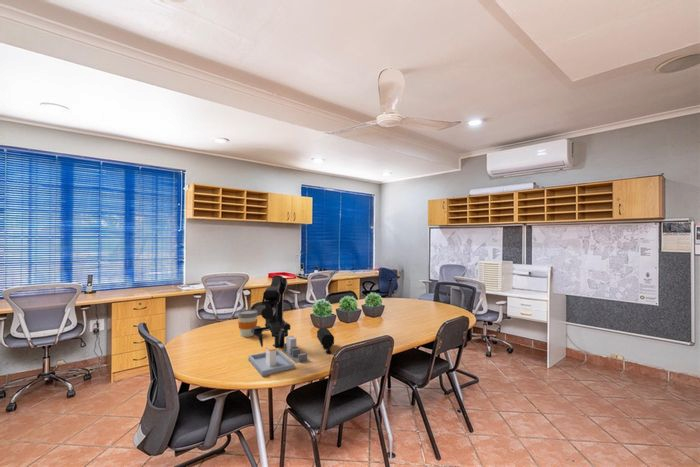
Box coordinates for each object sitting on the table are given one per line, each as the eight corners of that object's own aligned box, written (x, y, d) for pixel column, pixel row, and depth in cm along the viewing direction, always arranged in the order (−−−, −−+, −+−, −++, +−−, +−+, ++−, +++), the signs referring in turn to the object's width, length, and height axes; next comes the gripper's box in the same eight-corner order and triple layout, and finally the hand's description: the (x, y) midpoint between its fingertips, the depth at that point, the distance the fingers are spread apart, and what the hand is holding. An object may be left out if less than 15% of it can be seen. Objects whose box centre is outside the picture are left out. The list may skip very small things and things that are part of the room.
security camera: (322, 355, 176) (323, 337, 176) (316, 344, 194) (316, 327, 194) (335, 354, 178) (335, 336, 178) (328, 343, 196) (328, 326, 196)
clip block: (281, 351, 182) (281, 344, 182) (294, 348, 186) (294, 341, 186) (295, 364, 164) (295, 356, 164) (310, 361, 168) (310, 353, 168)
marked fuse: (265, 362, 165) (265, 346, 165) (272, 360, 167) (272, 345, 167) (269, 366, 160) (269, 349, 160) (276, 364, 162) (276, 348, 162)
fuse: (286, 350, 181) (286, 336, 181) (291, 349, 183) (292, 335, 183) (290, 354, 176) (290, 339, 176) (296, 353, 178) (296, 338, 178)
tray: (248, 360, 169) (248, 355, 169) (278, 354, 177) (278, 349, 177) (262, 376, 149) (262, 371, 149) (294, 369, 158) (294, 364, 158)
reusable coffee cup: (260, 332, 217) (260, 309, 217) (253, 338, 204) (253, 314, 204) (242, 331, 218) (242, 309, 218) (234, 337, 206) (234, 313, 206)
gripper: (257, 320, 151) (257, 353, 151) (294, 315, 161) (294, 346, 161) (251, 315, 161) (250, 346, 161) (286, 311, 171) (286, 340, 171)
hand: (270, 345), depth 163 cm, fingers open, 9 cm apart
